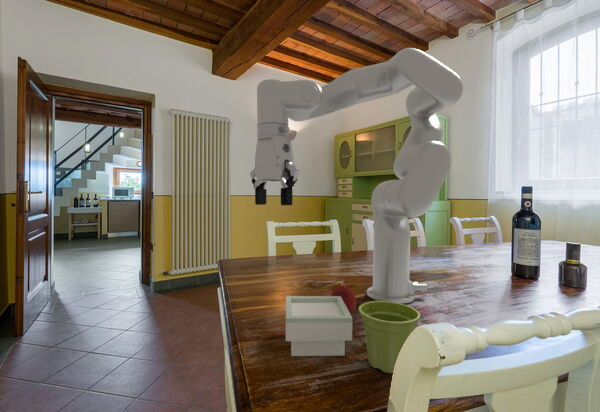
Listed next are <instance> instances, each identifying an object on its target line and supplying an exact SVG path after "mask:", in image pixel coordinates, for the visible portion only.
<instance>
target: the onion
mask: <svg viewBox="0 0 600 412" xmlns="http://www.w3.org/2000/svg"><path fill="white" fill-rule="evenodd" d="M330 296H341V298H342V300H343V302H344V303H345V305H346V307H347V309H348V311H349V313H350V314H351V315H352V313H353V312H354V311H355V309H356V306H357V302H356V301H357V300H356V296H355V294H354V292H353V291H352V290H351V289H350V288H348V287H347V283H346V282H341V283H340V285H339V286H338V287H337V288H335V289H334V290H333V291H332V293H331V295H330Z"/></svg>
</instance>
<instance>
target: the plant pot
mask: <svg viewBox="0 0 600 412" xmlns="http://www.w3.org/2000/svg"><path fill="white" fill-rule="evenodd" d="M358 312H359V314H360V315H361V321H362V323H363V327H364V328H363V329H364V334H365V342H366V350H367V351H366V352H367V358H368V359H367V360H368V361H367V362H368V363H369V364H370V365H371V367H372V368H374V369H379V370H381V371H382V372H383V373H386V374H394V373H393V369H394V365H395V362H396V359H397V357H398V354H399V352H400V350H401V348H402V346H403V344H404V342H405V341H406V339H407V337H408V336H409V334H410V333H411V332H412V331H413V330H415V329H416V327H417V322H418V321H419V320H420V318H421V313H420V311H418V310H417V309H415V308H414V307H412V306H410V305H407V304H405V303H403V304H400V303H396V302H388V301H377V300H372V301H368V302H364V303H362V304H360V305H359V306H358Z"/></svg>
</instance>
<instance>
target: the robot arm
mask: <svg viewBox="0 0 600 412" xmlns="http://www.w3.org/2000/svg"><path fill="white" fill-rule="evenodd" d="M463 85H464V84H463V82H462V79H461V77H460V76H459V75H458V74H457V73H456V72H455V71H453V70H452V69H451V68H449V67H448V66H446V65H444V64H443V63H442V62H440V61H439V60H437V59H436V58H435V57H433V56H431V55H429V54H427V53H426V52H424V51H422V50H420V49H417V48H415V47H405V48H402V49H401V50H399V51H398V52H397V53H396V54H394V56H392V57H391V58H390V59H388V60H387V61H383V62H380V63H376V64H371V65H367V66H363V67H358V68H354V69H350V70H349V71H346V72H344V73H343V74H341V75H339V76H338V77H336V78H335V79H334V80H332V81H330V82H329V83H327V84H325V85H323V86H320V85H319V84H318V83H317V82H315V81H313V80H309V79H298V80H287V81H286V80H285V81H282V80H279V79H275V78H274V79H273V78H271V79H264V80H261V81H260V82H259V83H258V84H257V87H256V118H257V119H256V121H257V123H256V125H257V126H256V129H257V131H256V132H257V133H256V136H257V137H256V139H257V141H256V146H255V156H254V159H255V160H254V169H252V170H251V171H250V173H249V175H250V178H251V183H252V185H253V189H254V191H255V192H254V204H255V205H257V206H258V205H259V206H260V205H261V206H262V205H267V189H266V186H267V184H268V183H269V182H279V183H280V184H281V186H282V187H280V205H281V206H292V205H293V189H294V188H295V184H296V183H297V181H298V177H299V173H300V171H301V169H300V167H298V166H297V165H296V164H294V163H295V162H294V161H295V160H294V152H293V145H292V144H293V143H292V141H291V138H289V131H290V127H289V119H290V120H291V121H294V122H304V121H309V120H313V119H317V118H320V117H323V116H326V115H329V114H332V113H335V112H338V111H342V110H345V109H348V108H350V107H353V106H355V105H358V104H363V103H366V102H370V101H375V100H378V99H382V98H386V97H389V96H393V95H396V94H398V93H400V92H402V91H404V90H406V89H407V88H409V87H410V86H415V87H414V88H413V89H412V90H411V91H410V92H409V93H408V94H407V96H406V99H405V108H406V111H407V114H408V116H409V119H410V123H411V127H410V131H409V133H408V135H407V138H406V140H405V141H404V143H403V145H402V147H400V150H399V152H398V153H397V155H396V157H395V159H394V162H393V166H392V168H393V169H392V170H393V173H394V174H395V176H396V177H397V178H398V179H390V180H389V179H388V180H385V181H383V182H380V183H379V184H378V185H376V187H375V188H374V189H373V192H372V194H371V198H370V199H371V200H370V203H371V209H372V211H371V212H372V217H373V253H372V255H373V257H372V258H373V260H372V265H373V266H372V286H369V287H368V288H367V289H366V294H367V297H369V298H370V299H372V300H373V301H388V302H396V303H400V304H409V303H413V302H414V301H415V300H416V294H415V293H417V291H420V292H427V291H428V289H429V288H428V284H427V283H419V282H418V281H412V280H411V279H410V270H411V269H410V266H411V264H410V263H411V227H410V222H409V219H408V218H417V217H421V216H423V215H425V213H427V212H428V210H429V209H430V208H431V206H432V204H433V203H434V201H435V199H436V198H437V196H438V194H439V192H440V190H441V188H442V186H443V185H444V182H445V180H446V178H447V176H448V174H449V173H450V169H451V166H452V155H451V152H450V150H449V148H448V146H446V145H445V144H444V143H442V142H441V141H442V138H443V133H444V131H443V127H442V124H441V120H440V119H439V116H438V114H437V113H436V112H440V111H442V110H444V109H447V108H449V107H451V106H453V105H454V104H456V103H457V102H458V101H459V100H460V99H461V98H462V95H463V91H464V86H463Z"/></svg>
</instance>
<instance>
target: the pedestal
mask: <svg viewBox="0 0 600 412" xmlns="http://www.w3.org/2000/svg"><path fill="white" fill-rule="evenodd" d="M349 341H350V342H351V341H353V317H352V313H351V314H350V313H349V311H348V309H347V307H346V305H345V303H344V302H343V300H342V298H341V296H331V295H327V296H326V295H325V296H323V295H320V296H319V295H315V296H313V295H312V296H309V295H305V296H302V295H301V296H300V295H299V296H296V295H295V296H293V295H291V296H290V295H289V296H287V295H286V296H285V342H290V351H291V352H290V355H291V357H320V356H321V357H328V356H329V357H331V356H340V357H341V356H345V355H346V354H345V352H346V351H345V349H346V348H345V347H346V345H345V344H346V342H349Z"/></svg>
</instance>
